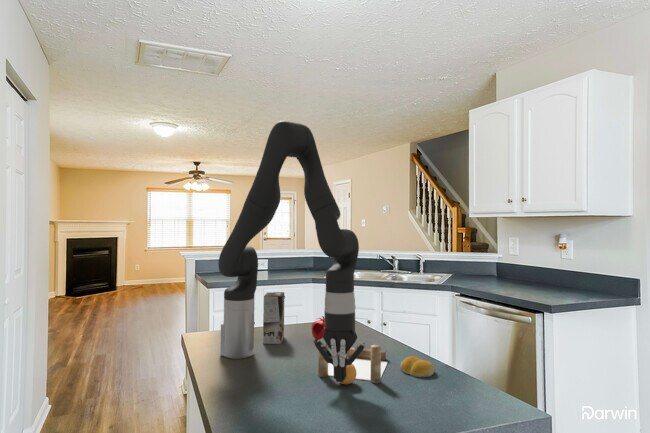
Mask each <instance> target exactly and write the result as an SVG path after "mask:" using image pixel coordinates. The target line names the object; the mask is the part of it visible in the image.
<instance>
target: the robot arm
mask: <svg viewBox="0 0 650 433" xmlns="http://www.w3.org/2000/svg"><path fill="white" fill-rule="evenodd" d="M263 150H264V151H263V155H262V157H261V161H260V164H259V167H258V169H257V172H256V175H255V177H254V180H253V183H252V184H251V187H250V189H249V191H248V194H247V196H246V198H245V201H244V203H243V206H242V208H241V212H240V214H239V216H238V219H237V220H236V223H235V224H234V228H233V230H232V231H231V232H230V234H229V237H228V238H227V240H226V242H225V244H224V245H223V248H222V249H221V252H220V254H219V258H218V271H219V272H220V274H221V275H222V276H223V277H227V278H236V277H237V279H236V281H235V282H234V283H233V284H231V285H230V286H228V287H227V288H225V290H224V291H223V322H222V323H220V352H219V353H220V356H223V357H224V358H228V359H233V360H236V359H239V360H240V359H245V358H249V357H252V356H253V355H254V353H255V352H254V351H255V349H254V348H255V343H254V342H255V293H256V291H257V286H258V274H259V273H258V272H259V270H258V269H259V257H258V254H257V251H256V249H255V248H254V247H252V246H251V245H250V246H249V245H248V244H249V243H250V242H251V240H252V239H254V238H255V237H256V236H257V235H258V234H259V233H261V231H263V230H264V229H265V228H266V227H267V226H268V225H269V224H270V223H271V221H272V220H273V218H274V216H275V214H276V212H277V209H278V208H279V206H280V202H281V197H282V196H281V186H280V173H281V170H282V167H283V165H284V163H285V161H286V159H287V158H295V159H297V161H298V162H299V164H300V166H301V168H302V171H303V176H304V185H303V194H304V198H305V202H306V205H307V207H308V209H309V212H310V214H311V216H312V218H313V220H314V226H315V230H316V236H317V242H318V245H319V247H320V249H321V251H322V252H323V254H324V255H326V256H327V257H329V258H331V259H332V258H333V262H332V265H331V267H329V268H328V269H327V270H326V272H325V295H324V296H325V297H324V318H325V332H324V334H323V338H322V339H320V340H318V341H317V340H316V341H315V342H314V346H315V347H316V349H317V350H318V353H319V352H320V353H321V355H322V356H323V358H324V359H325V360H326V362H327V363H328V364H329V363H331V364H332V365H333V366H334V377H333V378H334V380H335V382H337V383H340V382H343V380H344V379H345V378H346V366H347V365H351V364H352V363H353V362H354V360H355V359H358V358H357V357H358V355H359V354H360V353H361V352H362V350H363V349H366V343H365V342H362V341H360V340H359V339H358V335H357V332H356V309H357V308H356V298H355V297H356V296H355V278H354V277H355V270H356V266H357V263H358V262H357V261H358V257H359V252H360V246H359V245H360V244H359V240H358V237H357V235H356V233H355V232H354V231H352V230H351V229H346V228H344V229H343V228H340V224H339V222H338V220H339V219H340V217H341V211H340V208H339V206H338V203H337V202H336V199H335V197H334V195H333V192H332V190H331V188H330V185H329V184H328V181H327V178H326V176H325V172H324V169H323V166H322V165H323V164H322V161H321V158H320V155H319V151H318V147H317V143H316V141H315V137H314V135H313V132H312V131H311V129H310V128H309V127H308V126H307V125H304V124H302V123H298V122H291V121H289V120H288V121H287V120H279V121H278V122H276V123H275V124H274V125H273V127H272V128H271V130H270V131H269V135H268V138H267V141H266V144H265V147H264V149H263ZM325 342H326V343H327V345H328V349H327V347H326V343H325ZM353 346H354V347H353ZM351 347H353V348H355V350H356V351H355V352H354V353H353V355H352V356H351V357H347V355H348V351H349V350H350V348H351ZM329 349H330V350H331V352H330V351H329ZM347 358H348V359H347Z"/></svg>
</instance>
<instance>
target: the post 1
mask: <svg viewBox="0 0 650 433" xmlns="http://www.w3.org/2000/svg"><path fill="white" fill-rule="evenodd" d="M325 343H326V342H325ZM326 347H327V349H328V350H329V346H328V345H327V343H326ZM317 363H318V376H319V377H321V378H327V377H329V376H328V364H329V363H327V362H326V360H325V359H324V358H323V356H322V355H321V353H320V352H319V351H318V362H317Z"/></svg>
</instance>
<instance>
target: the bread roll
mask: <svg viewBox="0 0 650 433" xmlns="http://www.w3.org/2000/svg"><path fill="white" fill-rule="evenodd" d="M400 370H401V371H402V372H403V373H405V374H406V375H410V376H412V377H416V378H425V377H426V378H427V377H432V375H434V371H435V367H434V365H433V364H432V363H431V361H428V360H425V359H421V358H420V357H417V356H413V355H411V356H407V357H405V358H404V359H403V360H402V361H401V362H400Z"/></svg>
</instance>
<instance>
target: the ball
mask: <svg viewBox="0 0 650 433" xmlns="http://www.w3.org/2000/svg"><path fill="white" fill-rule="evenodd" d="M355 378H356V368H355V366H354V365H353V364H351V365H347V366H346V378H345V379H344V380H343V382H339V383H340V384H342V385H349V384H350V385H351V384H352V383H353V382H354V381H355V380H356V379H355Z"/></svg>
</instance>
